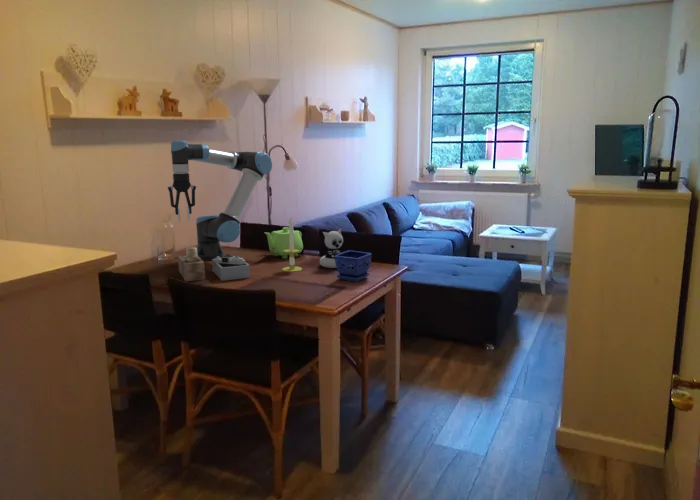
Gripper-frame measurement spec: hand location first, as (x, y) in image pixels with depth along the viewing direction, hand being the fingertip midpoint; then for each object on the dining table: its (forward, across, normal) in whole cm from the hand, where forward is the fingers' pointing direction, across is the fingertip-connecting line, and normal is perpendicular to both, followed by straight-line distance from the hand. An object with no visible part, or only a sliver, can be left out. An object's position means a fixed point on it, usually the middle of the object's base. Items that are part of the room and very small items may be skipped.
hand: (184, 220), depth 273 cm
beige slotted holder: (+25, 0, +13) cm, 28 cm away
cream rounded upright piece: (+18, 0, +17) cm, 25 cm away
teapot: (+25, -52, -10) cm, 59 cm away
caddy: (+25, -18, +19) cm, 36 cm away
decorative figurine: (+25, -70, +25) cm, 78 cm away
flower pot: (+25, -68, +52) cm, 89 cm away
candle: (+25, -48, +23) cm, 58 cm away
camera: (+25, -18, +19) cm, 36 cm away
